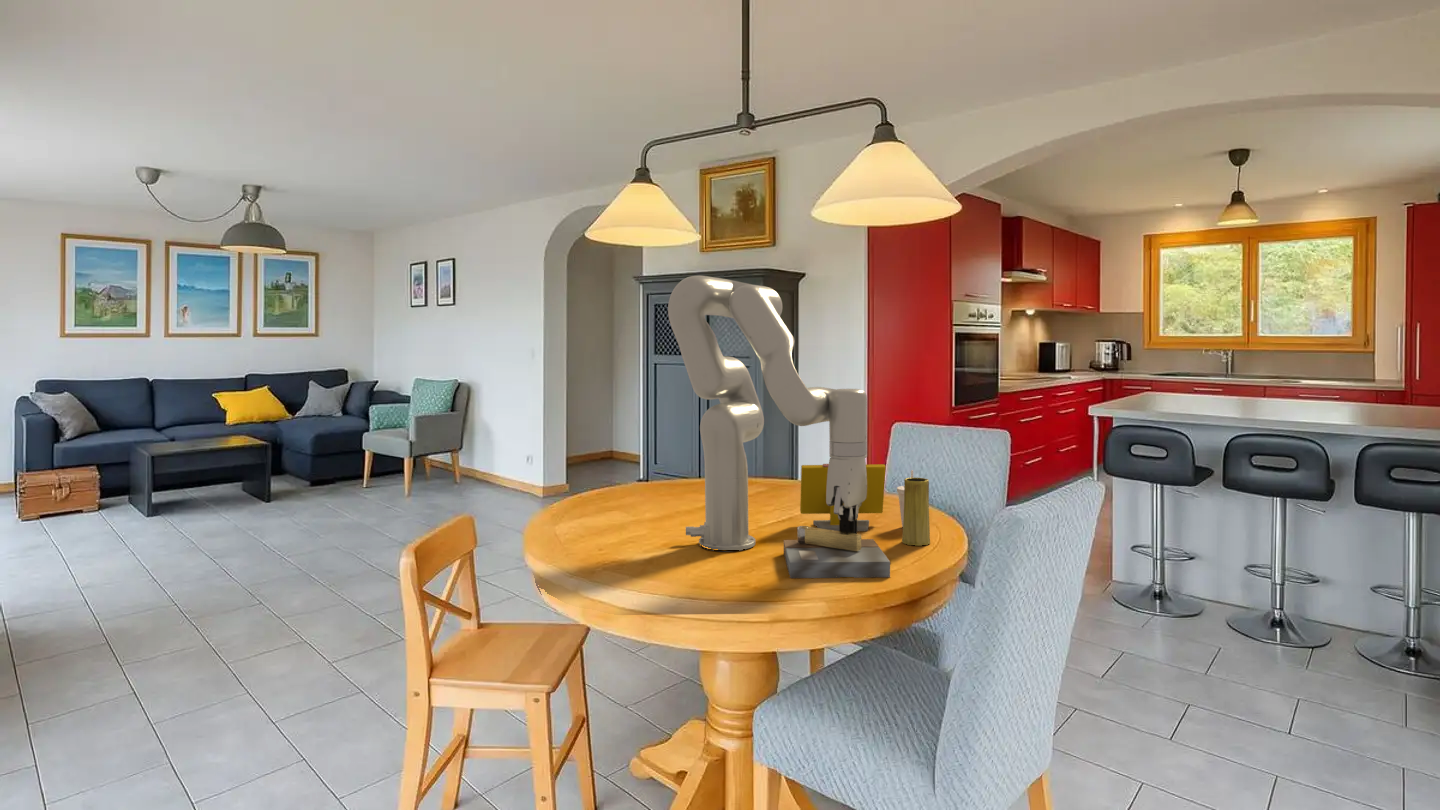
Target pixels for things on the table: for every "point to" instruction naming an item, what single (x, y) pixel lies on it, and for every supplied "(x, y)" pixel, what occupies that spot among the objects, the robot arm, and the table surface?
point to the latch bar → (829, 538)
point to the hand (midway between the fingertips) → (848, 538)
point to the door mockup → (835, 561)
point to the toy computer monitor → (816, 504)
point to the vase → (916, 512)
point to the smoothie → (902, 498)
